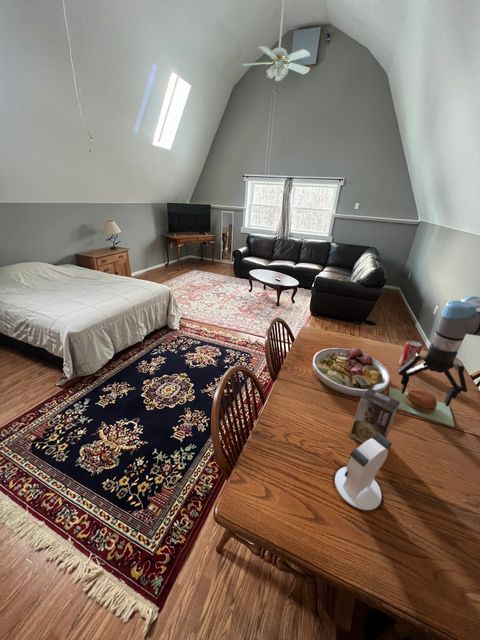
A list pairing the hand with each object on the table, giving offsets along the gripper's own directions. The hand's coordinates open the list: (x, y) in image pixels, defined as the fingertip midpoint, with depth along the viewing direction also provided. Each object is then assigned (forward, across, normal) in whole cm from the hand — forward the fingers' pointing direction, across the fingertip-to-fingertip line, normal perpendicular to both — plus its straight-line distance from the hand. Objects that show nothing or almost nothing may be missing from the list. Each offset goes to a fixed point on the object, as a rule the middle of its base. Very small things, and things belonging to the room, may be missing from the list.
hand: (423, 397), depth 97 cm
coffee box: (+4, -16, -26) cm, 31 cm away
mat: (+4, 0, 0) cm, 4 cm away
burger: (+4, -1, 0) cm, 4 cm away
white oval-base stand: (+4, -18, -44) cm, 48 cm away
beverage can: (+4, -4, +28) cm, 28 cm away
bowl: (+4, -26, +5) cm, 27 cm away
